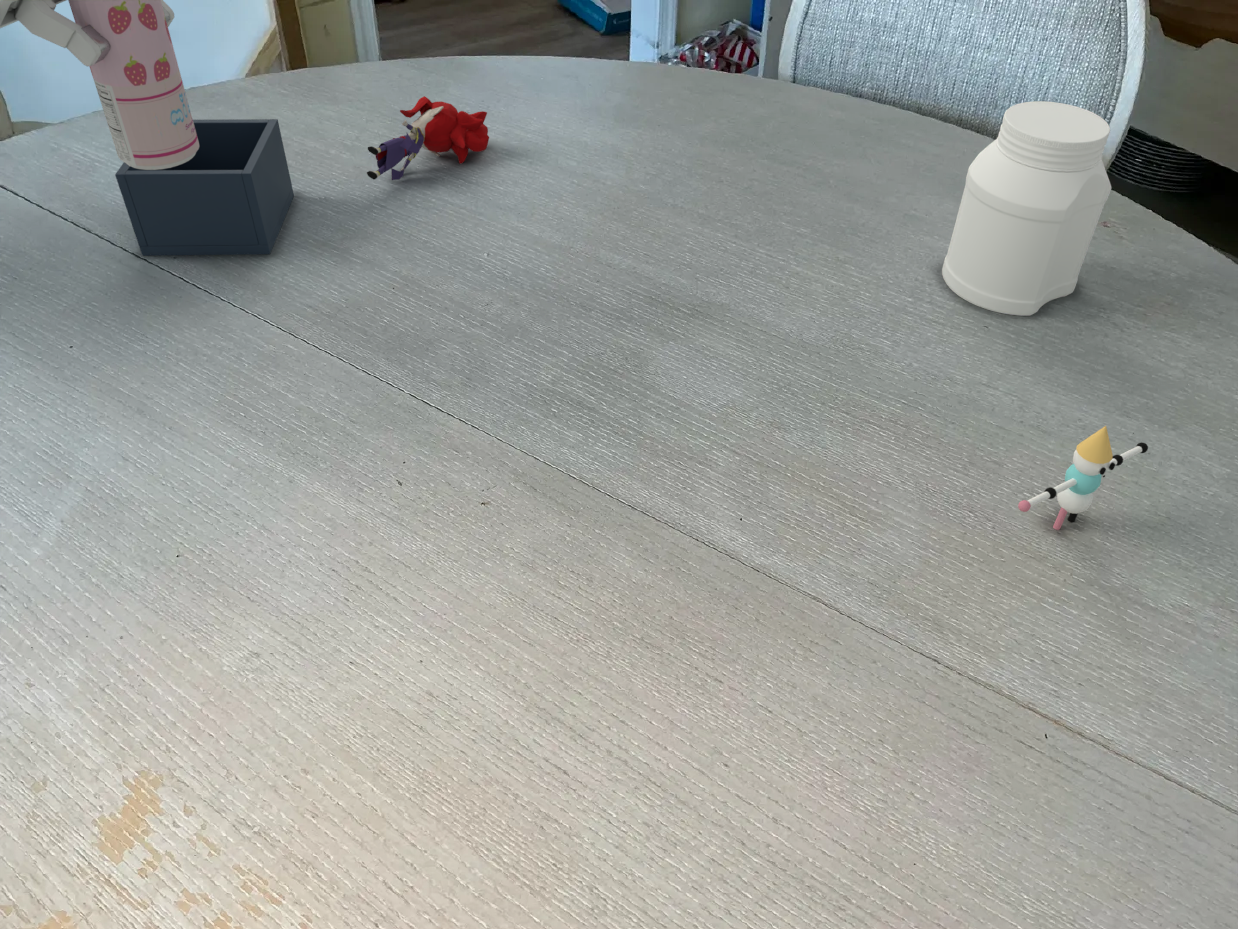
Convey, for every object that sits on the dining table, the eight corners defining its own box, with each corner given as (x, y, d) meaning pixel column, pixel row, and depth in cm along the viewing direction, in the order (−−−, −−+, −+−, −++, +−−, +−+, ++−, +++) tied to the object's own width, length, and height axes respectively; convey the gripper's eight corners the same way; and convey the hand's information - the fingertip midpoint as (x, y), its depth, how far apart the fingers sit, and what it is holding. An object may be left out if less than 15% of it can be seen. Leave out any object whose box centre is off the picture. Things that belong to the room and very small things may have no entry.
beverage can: (200, 166, 74) (140, -58, 64) (116, 175, 73) (42, -52, 63) (201, 135, 78) (145, -80, 68) (122, 142, 77) (52, -76, 67)
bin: (142, 256, 93) (114, 174, 87) (177, 196, 101) (154, 119, 96) (270, 254, 93) (250, 173, 88) (294, 196, 102) (277, 118, 97)
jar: (1012, 326, 86) (1067, 160, 76) (923, 278, 92) (963, 118, 82) (1089, 284, 92) (1150, 123, 82) (1001, 241, 97) (1048, 86, 87)
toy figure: (1017, 569, 65) (1058, 469, 60) (988, 545, 67) (1025, 445, 61) (1139, 505, 70) (1187, 406, 64) (1109, 483, 72) (1154, 386, 66)
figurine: (347, 176, 104) (438, 127, 113) (411, 213, 102) (499, 160, 112) (347, 120, 99) (443, 73, 109) (415, 157, 97) (506, 107, 107)
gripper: (-168, -140, 56) (42, 63, 60) (85, -197, 70) (239, -31, 75) (-191, -60, 60) (8, 125, 64) (54, -130, 74) (202, 24, 79)
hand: (134, 40), depth 70 cm, fingers closed on beverage can, 5 cm apart
